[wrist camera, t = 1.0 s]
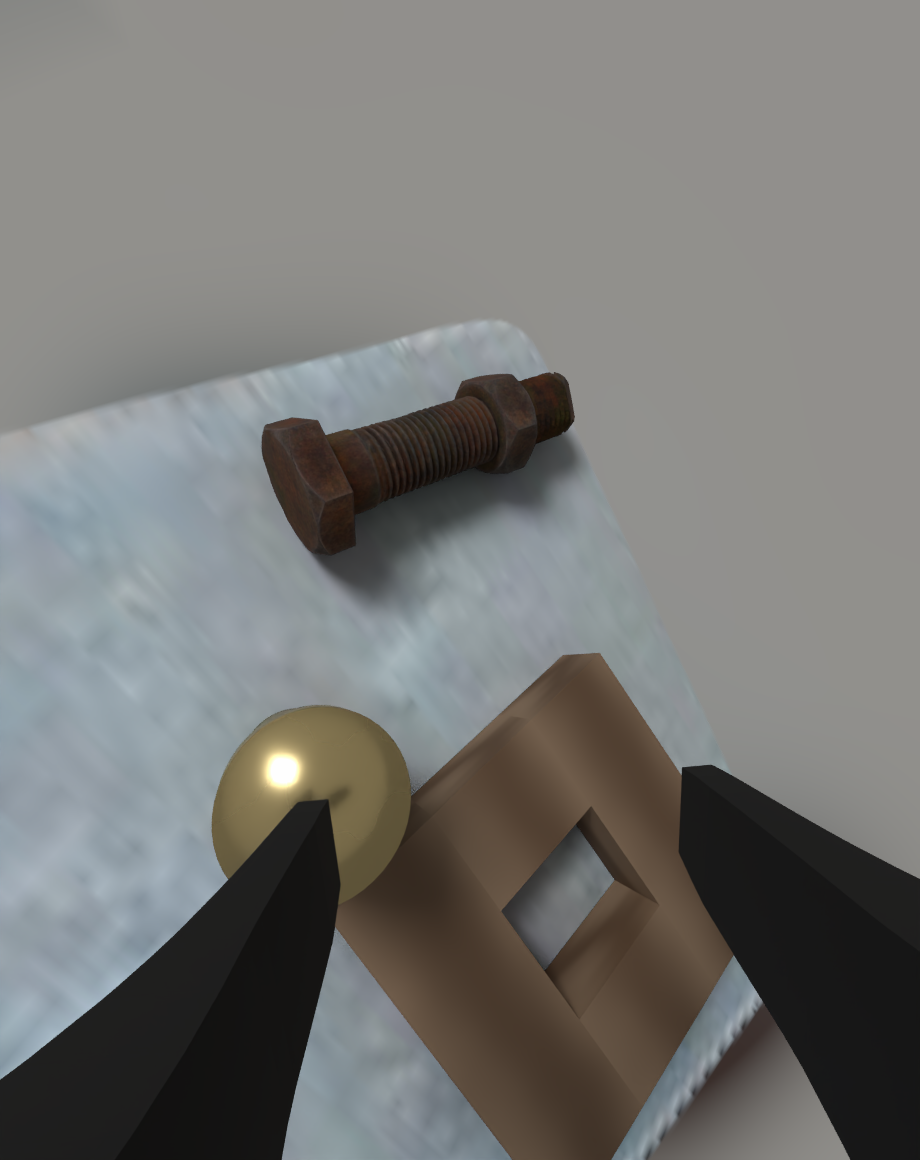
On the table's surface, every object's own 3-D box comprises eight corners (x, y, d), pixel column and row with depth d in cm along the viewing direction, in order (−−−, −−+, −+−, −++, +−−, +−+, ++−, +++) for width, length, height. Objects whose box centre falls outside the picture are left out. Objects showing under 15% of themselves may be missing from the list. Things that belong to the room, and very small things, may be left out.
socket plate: (526, 1159, 21) (567, 1232, 18) (317, 883, 20) (328, 917, 17) (713, 878, 27) (765, 901, 24) (562, 655, 26) (599, 653, 23)
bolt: (527, 445, 30) (287, 535, 23) (516, 354, 28) (246, 425, 21) (604, 454, 25) (335, 569, 19) (599, 346, 23) (290, 433, 16)
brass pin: (276, 854, 19) (291, 961, 12) (198, 751, 19) (166, 800, 12) (379, 764, 21) (444, 811, 14) (310, 671, 21) (342, 669, 14)
